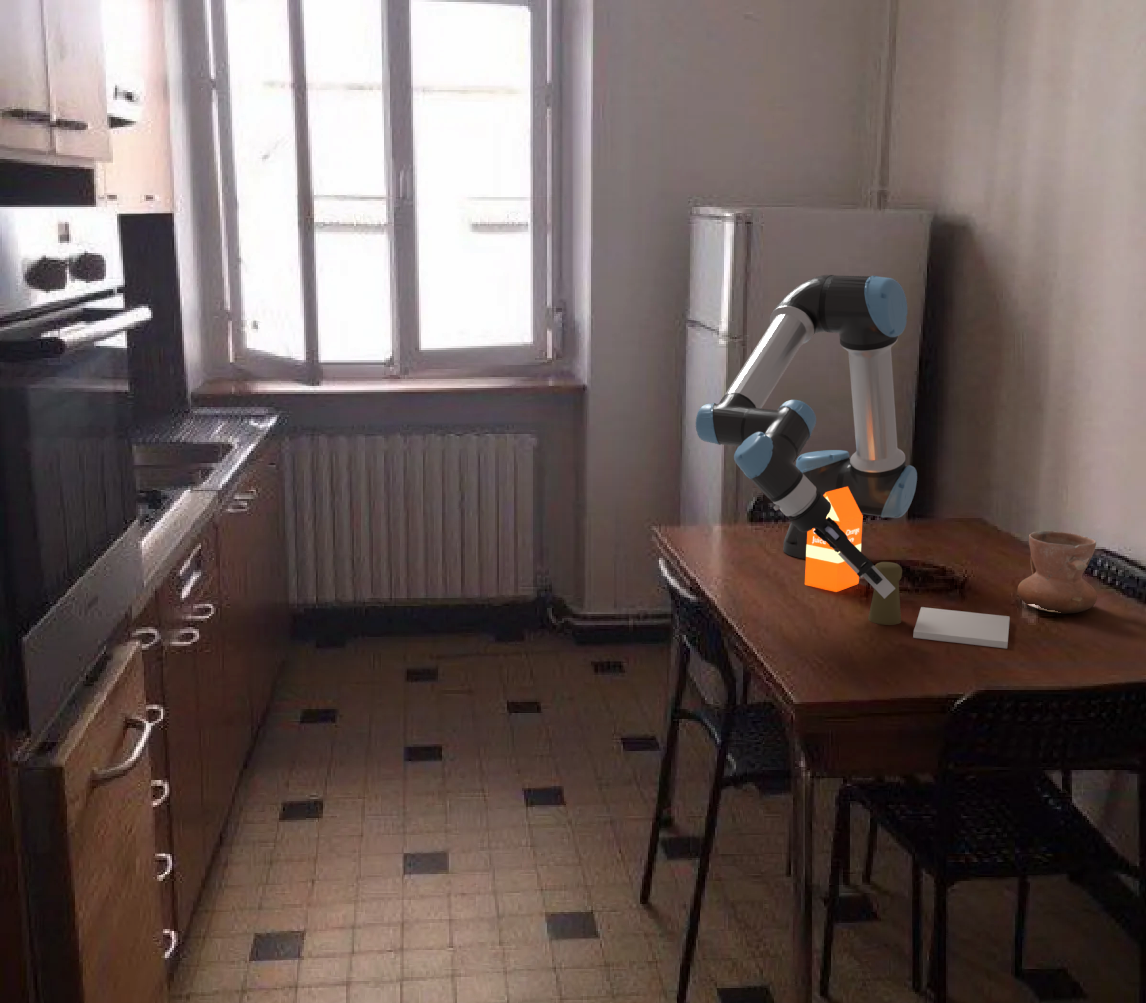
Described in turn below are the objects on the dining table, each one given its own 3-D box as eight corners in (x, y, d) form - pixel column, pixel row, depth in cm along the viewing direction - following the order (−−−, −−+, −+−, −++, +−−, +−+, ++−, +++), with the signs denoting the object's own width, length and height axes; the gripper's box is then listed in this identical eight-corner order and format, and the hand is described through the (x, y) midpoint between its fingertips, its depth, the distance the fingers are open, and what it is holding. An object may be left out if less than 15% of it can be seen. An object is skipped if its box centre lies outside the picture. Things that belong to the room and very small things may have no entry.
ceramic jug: (1113, 620, 237) (1121, 547, 234) (1039, 621, 235) (1046, 547, 233) (1067, 595, 254) (1074, 526, 252) (998, 595, 253) (1004, 526, 250)
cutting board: (913, 637, 225) (913, 631, 225) (920, 613, 240) (921, 607, 240) (1007, 648, 220) (1007, 642, 220) (1009, 622, 235) (1009, 616, 234)
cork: (903, 617, 237) (907, 561, 235) (897, 626, 232) (901, 569, 229) (871, 613, 239) (875, 557, 237) (864, 622, 234) (868, 565, 232)
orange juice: (859, 583, 260) (865, 489, 255) (836, 592, 253) (842, 495, 249) (826, 576, 265) (831, 483, 261) (803, 584, 259) (808, 489, 254)
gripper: (771, 503, 241) (842, 578, 246) (805, 534, 217) (884, 616, 221) (799, 476, 240) (871, 552, 245) (837, 503, 216) (915, 587, 221)
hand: (877, 582), depth 233 cm, fingers open, 13 cm apart
